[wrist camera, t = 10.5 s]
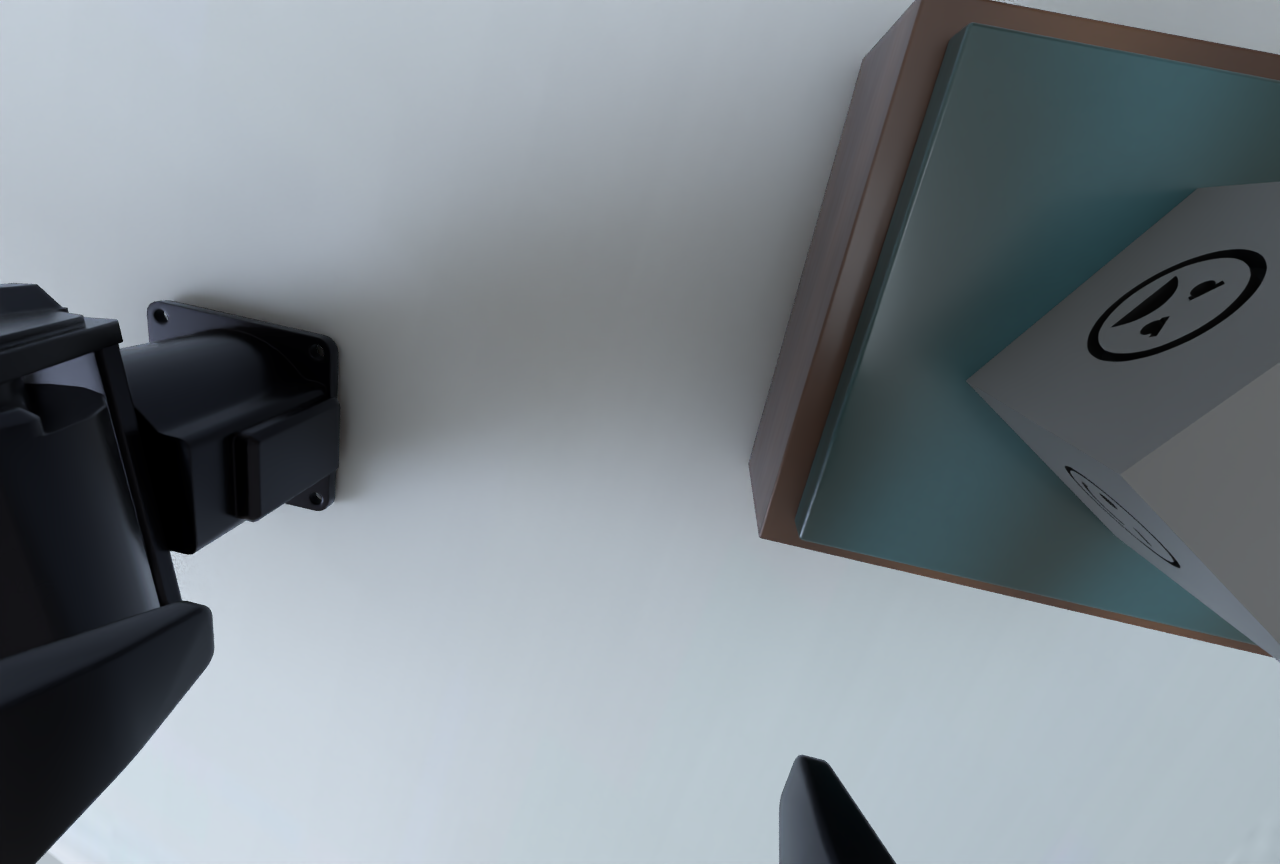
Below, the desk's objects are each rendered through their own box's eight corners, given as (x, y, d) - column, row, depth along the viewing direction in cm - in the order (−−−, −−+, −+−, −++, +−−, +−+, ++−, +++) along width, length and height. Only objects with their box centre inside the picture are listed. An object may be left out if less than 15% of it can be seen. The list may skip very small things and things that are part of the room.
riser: (747, 465, 20) (761, 558, 14) (862, 57, 16) (944, -36, 10) (1141, 554, 19) (1317, 689, 14) (1367, 155, 15) (1748, 113, 10)
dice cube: (965, 380, 12) (1120, 474, 8) (1197, 188, 11) (1569, 158, 6) (1115, 535, 13) (1340, 708, 8) (1354, 375, 12) (1795, 478, 7)
